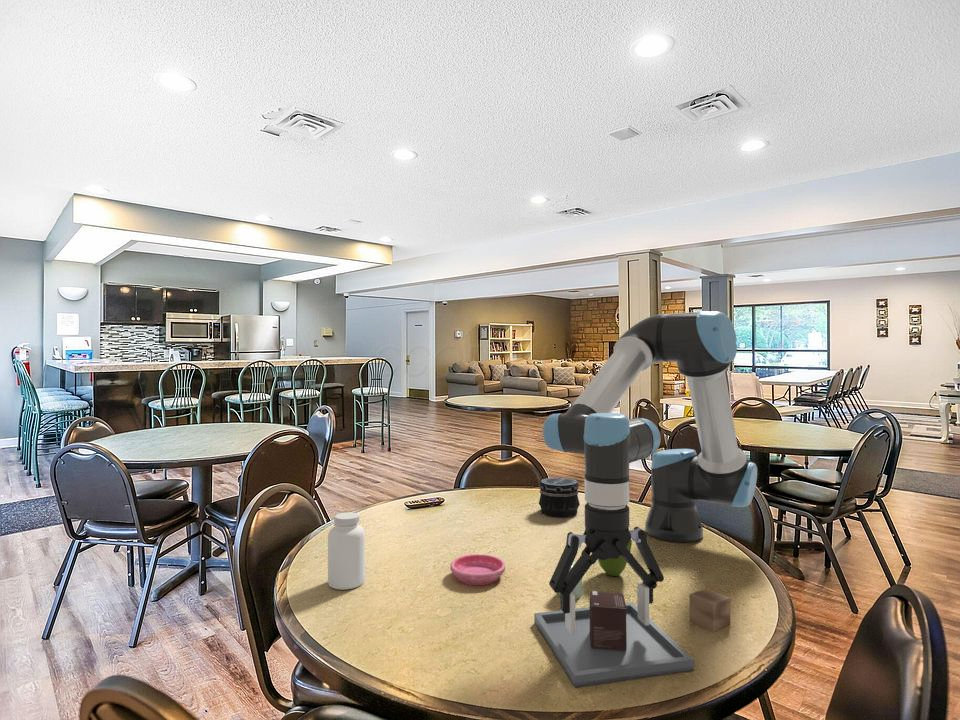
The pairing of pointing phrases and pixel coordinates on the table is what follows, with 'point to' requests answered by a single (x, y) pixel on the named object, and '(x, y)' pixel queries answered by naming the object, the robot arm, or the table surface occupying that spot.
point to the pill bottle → (346, 552)
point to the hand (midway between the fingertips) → (607, 626)
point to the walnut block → (710, 609)
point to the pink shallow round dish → (477, 569)
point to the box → (607, 621)
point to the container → (559, 497)
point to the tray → (593, 666)
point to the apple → (614, 564)
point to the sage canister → (578, 588)
